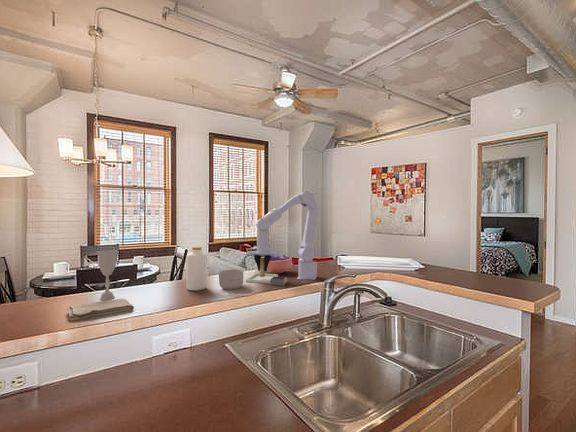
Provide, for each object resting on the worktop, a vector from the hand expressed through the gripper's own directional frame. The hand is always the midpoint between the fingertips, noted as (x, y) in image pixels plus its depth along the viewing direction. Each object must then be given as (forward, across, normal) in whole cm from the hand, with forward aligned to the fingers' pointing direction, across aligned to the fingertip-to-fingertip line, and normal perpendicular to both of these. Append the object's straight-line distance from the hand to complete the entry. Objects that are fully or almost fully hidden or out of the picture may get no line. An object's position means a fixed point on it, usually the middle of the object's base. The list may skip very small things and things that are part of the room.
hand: (262, 270), depth 152 cm
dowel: (+3, 0, 0) cm, 3 cm away
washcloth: (+6, -39, -58) cm, 70 cm away
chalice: (+5, -49, -44) cm, 66 cm away
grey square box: (+5, +10, -8) cm, 14 cm away
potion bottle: (+5, -23, -23) cm, 33 cm away
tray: (+5, 0, 0) cm, 5 cm away
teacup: (+5, -8, -18) cm, 20 cm away
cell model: (+5, +2, +19) cm, 20 cm away
